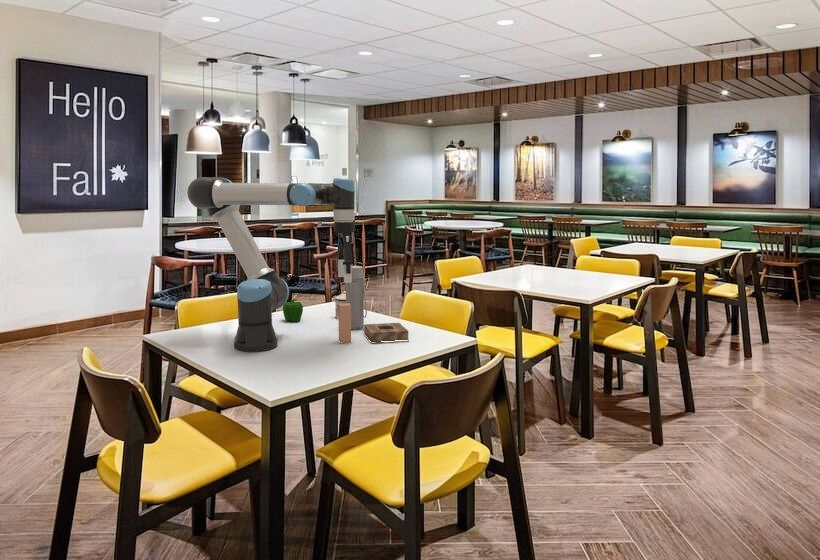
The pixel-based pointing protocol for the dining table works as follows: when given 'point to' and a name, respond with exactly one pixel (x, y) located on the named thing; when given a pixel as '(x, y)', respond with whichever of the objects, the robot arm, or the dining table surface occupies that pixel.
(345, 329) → the peg
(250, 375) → the dining table surface
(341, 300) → the teacup with lid
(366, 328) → the socket block
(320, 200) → the robot arm
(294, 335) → the dining table surface
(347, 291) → the water bottle
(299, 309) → the bell pepper
